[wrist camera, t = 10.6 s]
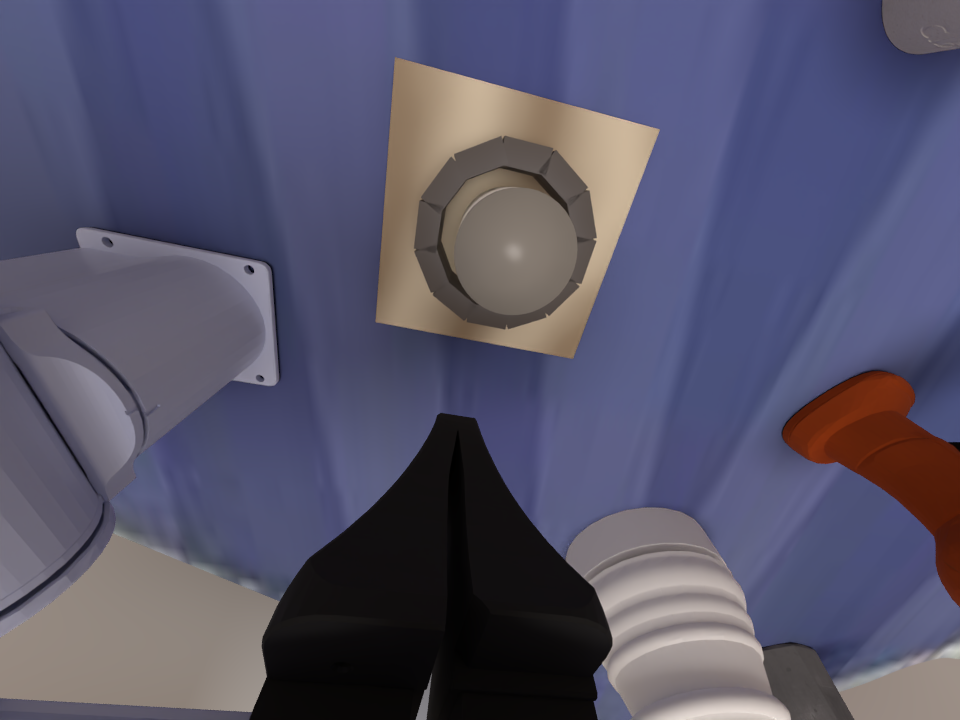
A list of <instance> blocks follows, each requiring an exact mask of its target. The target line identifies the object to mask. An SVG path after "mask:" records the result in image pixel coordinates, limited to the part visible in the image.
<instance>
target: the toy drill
mask: <svg viewBox="0 0 960 720" xmlns="http://www.w3.org/2000/svg"><path fill="white" fill-rule="evenodd" d="M914 402H915V393H914V390H913V389H912V387H911V386H910V384H909V383H908V382H907V381H906V380H905V379H903V378H902V377H900V376H897V375H895V374H892V373H888V372H883V371H871V372H868V373H864V374H861V375H858V376H856V377H853V378H851V379H849V380H847V381H845V382H843V383H841V384H840V385H838V386H836V387H834V388H832V389H831V390H829V391H827V392H826V393H824V394H823V395H821V396H820V397H818V398H817V399H815V400H814V401H812V402H811V403H809V404H808V405H806V406H805V407H804V408H803V409H801V410H800V411H799V412H798V413H796V414H795V415H794V416H793V417H792V418H791V419H790V420H789V421H788V423H787V424H786V426H785V427H784V430H783V439H784V441H785V442H786V443H787V444H788V445H789V446H790V447H791V448H792V449H793V450H794V451H796V452H797V453H799V454H800V455H802V456H803V457H805V458H806V459H808V460H810V461H813V462H816V463H821V464H828V463H834V462H838V463H840V464H842V465H844V466H845V467H847V468H849V469H850V470H852V471H854V472H856V473H857V474H860V475H861V476H863V477H864V478H866V479H868V480H869V481H871V482H872V483H874V484H876V485H877V486H879V487H880V488H882V489H883V490H885V491H886V492H887V493H889V494H890V495H891V496H892V497H894V498H895V499H896V500H898V501H899V502H900V503H901V504H902V505H903V506H904V507H905V508H906V509H907V510H908V511H910V512H911V513H912V514H913V515H914V516H915V517H916V518H917V519H918V520H919V521H920V522H921V523H922V524H923V525H924V526H925V527H926V528H927V529H928V530H929V531H930V532H931V534H932V535H933V536H934V538H935V543H936V567H937V572H938V575H939V577H940V580H941V582H942V584H943V585H944V587H945V589H946V590H947V592H948V593H949V595H950V596H951V598H952V599H953V600H954V601H955V603H956V604H957V605H958V606H959V607H960V442H946V441H944V440H943V439H940V438H938V437H935V436H933V435H932V434H930V433H929V432H927V431H926V430H924V429H923V428H921V427H920V426H918V425H917V424H915V423H914V422H912V421H911V420H909V419H908V418H906V416H907V414H908V412H909V410H910V407H912V406H913V404H914Z"/></svg>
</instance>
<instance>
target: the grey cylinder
mask: <svg viewBox="0 0 960 720" xmlns="http://www.w3.org/2000/svg"><path fill="white" fill-rule="evenodd" d="M577 251H578V249H577V237H576V232H575V229H574V225H573V223H572V221H571V219H570V217H569V215H568V214H567V212H566V211H565V210H564V208H563V207H562V206H561V205H560V204H559V203H558V202H557V201H555V200H554V199H553V198H551V197H550V196H548V195H547V194H545V193H542V192H540V191H537V190H534V189H530V188H521V187H496V188H492V189H489V190H487V191H485V192H483V193H481V194H480V195H478V196H477V197H476V198H475V199H474V200H473V201H472V202H471V203H470V204H469V206H468V207H467V209H466V210H465V212H464V214H463V217H462V220H461V223H460V227H459V230H458V233H457V237H456V241H455V246H454V263H455V268H456V272H457V275H458V278H459V281H460V283H461V285H462V287H463V288H464V290H465V291H466V293H467V294H468V295H469V296H470V297H471V298H472V299H473V300H474V301H475V302H476V303H478V304H479V305H480V306H482V307H484V308H486V309H488V310H489V311H492V312H495V313H499V314H503V315H521V314H527V313H530V312H533V311H536V310H538V309H540V308H542V307H544V306H546V305H547V304H549V303H550V302H551V301H553V300H554V299H555V298H556V297H557V296H558V295H559V294H560V293H561V292H562V290H563V289H564V288H565V286H566V285H567V283H568V282H569V280H570V278H571V276H572V273H573V271H574V268H575V264H576V260H577Z"/></svg>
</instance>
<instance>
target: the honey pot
mask: <svg viewBox="0 0 960 720" xmlns="http://www.w3.org/2000/svg"><path fill="white" fill-rule="evenodd" d="M566 562H567V563H568V564H569V565H570V566H571V567H573V568H574V569H575V570H576V571H577V572H578V573H579V574H580V575H581V576H582V577H583V578H584V579H585V580H586V581H587V582H588V583H589V584H591V585H592V586H593V587H594V588H595V591H596V593H597V596H598V598H599V600H600V603H601V605H602V608H603V610H604V613H605V616H606V618H607V622H608V625H609V628H610V631H611V635H612V638H613V646H612V648H611V650H610V652H609V654H608V656H607V657H606V659H605V660H604V661H603V663H602V664H603V666H604V667H605V668H606V670H607V672H608V679H609V681H610V683H611V684H612V686H613V687H614V688H615V690H616V691H617V692H618V693H619V694H620V695H621V697H622V699H623V701H624V703H625V704H626V706H627V708H628V710H629V711H630V713H631V715H632V718H631V720H791V717H790V713H789V711H788V709H787V708H786V706H785V705H784V704H783V703H782V702H780V701H779V700H778V699H777V698H776V697H774V696H773V695H772V691H771V688H770V684H769V681H768V678H767V674H766V671H765V668H764V664H763V661H764V655H763V651H762V647H761V644H760V643H759V642H758V640H757V639H756V638H755V637H754V628H753V624H752V621H751V618H750V616H749V615H748V614H747V613H746V601H745V597H744V593H743V591H742V589H741V586H740V585H739V583H738V582H737V581H736V580H735V579H734V578H733V575H732V573H731V571H730V570H729V569H728V568H727V566H726V563H725V562H724V560H723V559H722V557H721V556H720V554H719V553H718V551H717V550H716V548H715V547H714V545H713V544H712V542H711V541H710V539H709V538H708V536H707V535H706V533H705V532H704V530H703V529H702V528H701V526H700V525H699V524H698V523H697V522H696V521H695V520H694V519H693V518H691V517H689V516H688V515H686V514H684V513H682V512H679V511H675V510H671V509H666V508H647V507H645V508H638V509H631V510H625V511H622V512H619V513H615V514H612V515H609V516H606V517H604V518H602V519H600V520H599V521H597V522H595V523H593V524H591V525H589V526H588V527H587V528H586V529H585V530H583V531H582V532H581V533H580V534H578V535H577V536H576V538H575V539H574V541H573V542H572V543H571V545H570V546H569V549H568V552H567V555H566Z"/></svg>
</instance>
